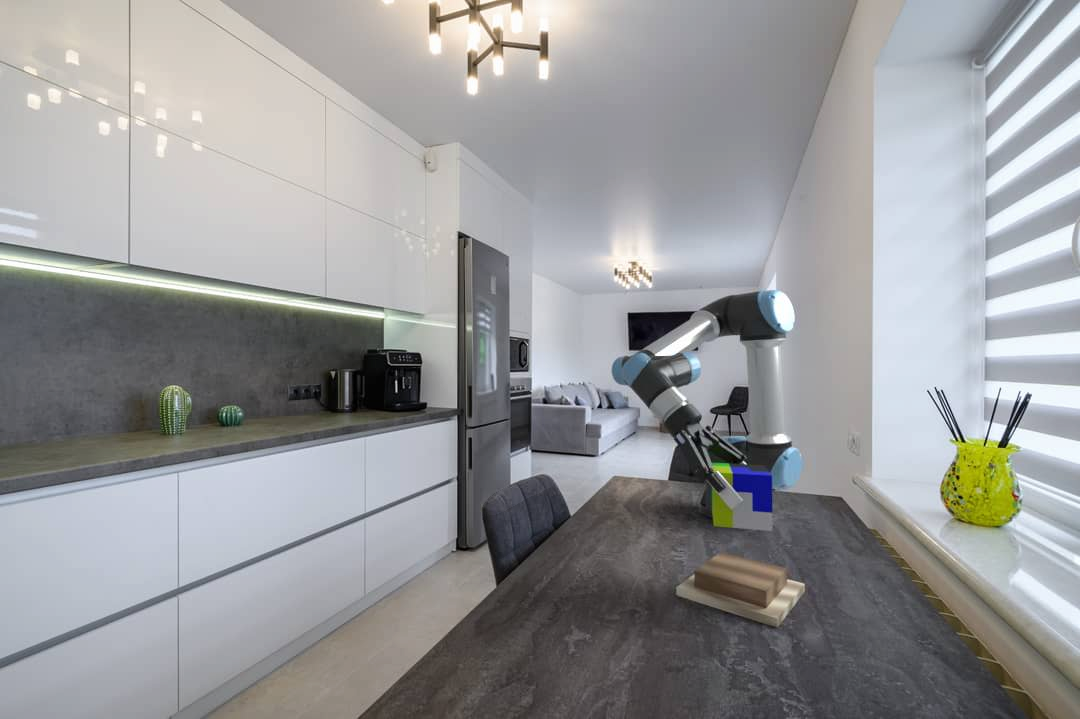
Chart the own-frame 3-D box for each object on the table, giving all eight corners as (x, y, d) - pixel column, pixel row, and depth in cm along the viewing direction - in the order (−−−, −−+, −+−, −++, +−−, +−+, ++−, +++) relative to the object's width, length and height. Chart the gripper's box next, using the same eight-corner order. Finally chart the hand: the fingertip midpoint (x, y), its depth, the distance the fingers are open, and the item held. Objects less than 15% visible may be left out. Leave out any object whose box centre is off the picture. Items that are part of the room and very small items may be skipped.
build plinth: (713, 567, 108) (713, 546, 108) (804, 591, 96) (804, 568, 96) (676, 595, 95) (676, 571, 95) (777, 627, 83) (777, 600, 83)
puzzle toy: (772, 531, 90) (772, 475, 90) (713, 526, 93) (713, 472, 93) (764, 515, 99) (764, 465, 99) (711, 511, 102) (711, 462, 102)
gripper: (690, 420, 116) (757, 496, 106) (634, 430, 97) (710, 523, 87) (712, 399, 112) (784, 475, 102) (659, 404, 94) (740, 498, 83)
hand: (750, 497), depth 94 cm, fingers closed on puzzle toy, 13 cm apart
